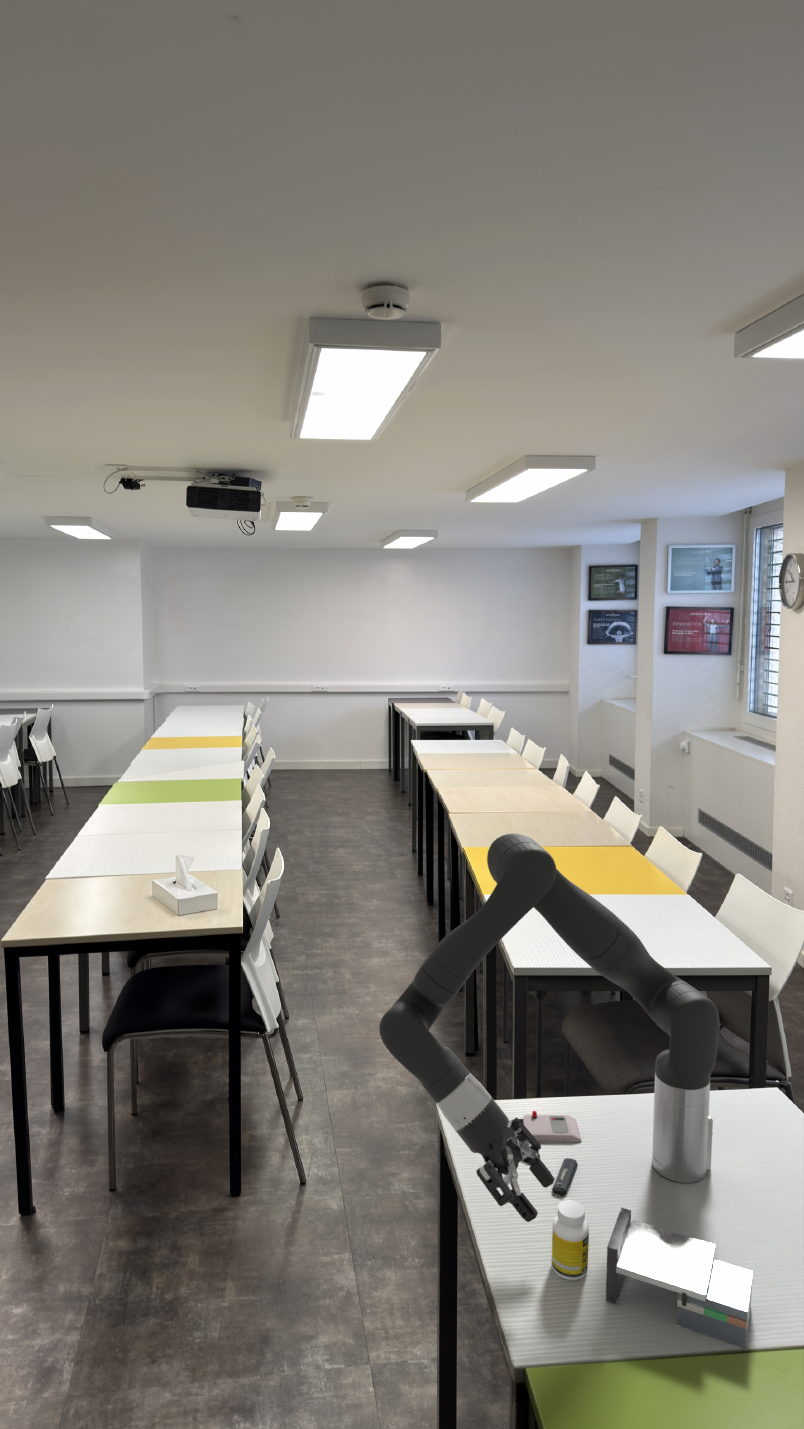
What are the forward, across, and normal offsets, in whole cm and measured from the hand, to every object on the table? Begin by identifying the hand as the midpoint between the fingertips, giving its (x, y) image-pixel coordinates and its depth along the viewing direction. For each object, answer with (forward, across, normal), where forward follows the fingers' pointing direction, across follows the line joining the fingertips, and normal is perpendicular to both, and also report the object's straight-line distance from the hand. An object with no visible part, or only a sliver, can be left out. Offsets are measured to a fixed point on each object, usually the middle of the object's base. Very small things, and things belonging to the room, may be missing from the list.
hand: (542, 1200), depth 135 cm
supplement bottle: (+10, 0, +4) cm, 11 cm away
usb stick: (+6, +20, +9) cm, 22 cm away
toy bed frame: (+19, 0, -6) cm, 20 cm away
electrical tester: (+1, +32, +14) cm, 35 cm away
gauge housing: (+25, 0, -11) cm, 27 cm away
